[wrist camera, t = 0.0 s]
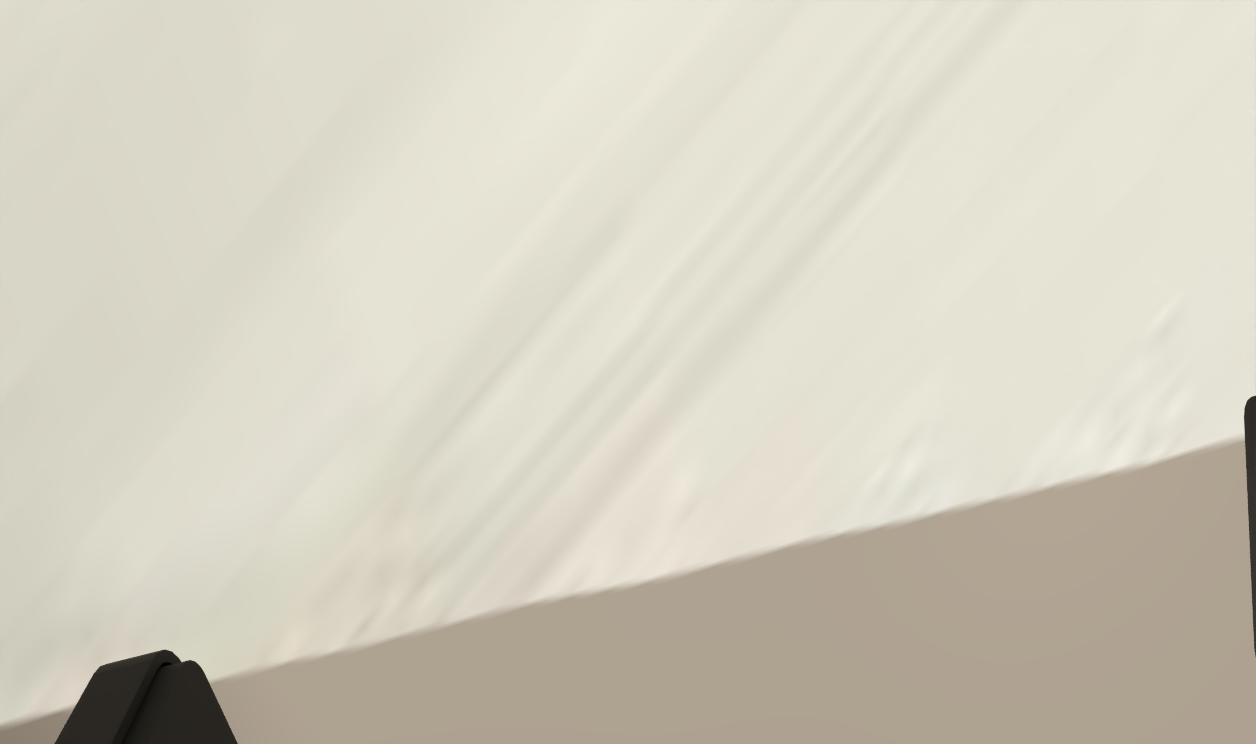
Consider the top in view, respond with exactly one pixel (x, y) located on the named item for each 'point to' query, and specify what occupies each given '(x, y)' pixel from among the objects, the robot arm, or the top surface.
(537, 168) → the top surface
